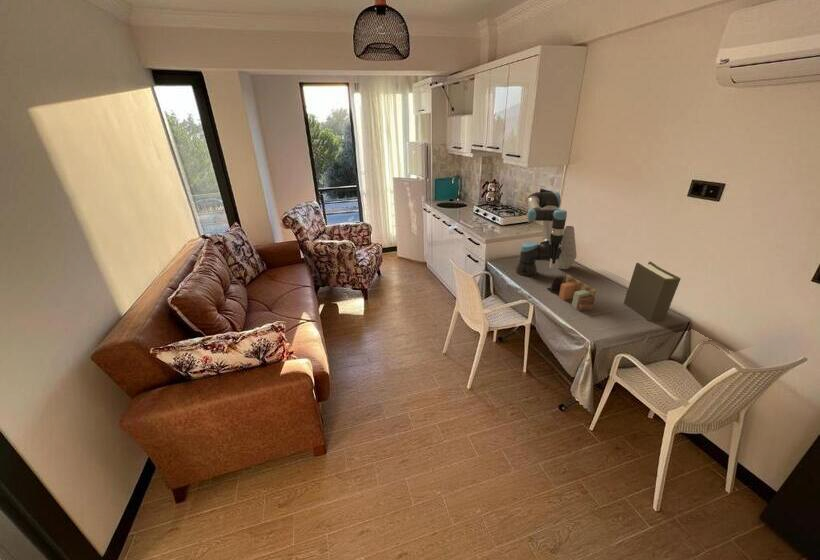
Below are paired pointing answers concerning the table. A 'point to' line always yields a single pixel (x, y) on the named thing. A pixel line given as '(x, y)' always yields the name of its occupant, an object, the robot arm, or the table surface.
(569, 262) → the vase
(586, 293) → the book green
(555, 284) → the bookend
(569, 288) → the book rust
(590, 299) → the shelf
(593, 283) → the table surface
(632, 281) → the book
